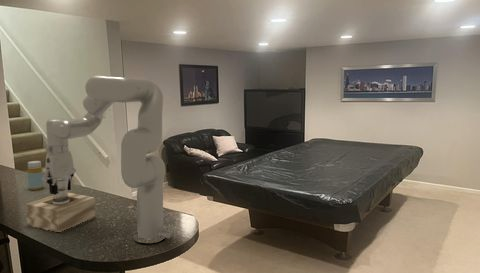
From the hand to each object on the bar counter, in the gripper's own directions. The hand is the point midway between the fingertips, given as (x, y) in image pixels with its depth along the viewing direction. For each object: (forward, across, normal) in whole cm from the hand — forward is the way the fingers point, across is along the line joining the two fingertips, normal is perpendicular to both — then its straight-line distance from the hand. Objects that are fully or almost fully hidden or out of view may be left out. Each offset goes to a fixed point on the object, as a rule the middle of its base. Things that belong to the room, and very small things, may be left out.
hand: (60, 191), depth 141 cm
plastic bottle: (+9, 0, 0) cm, 9 cm away
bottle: (+13, +26, +51) cm, 59 cm away
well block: (+13, 0, 0) cm, 13 cm away
